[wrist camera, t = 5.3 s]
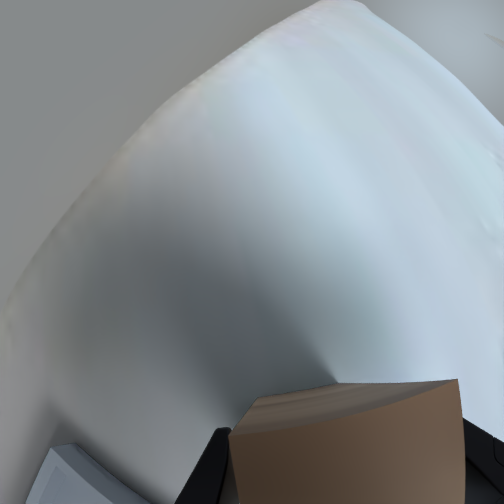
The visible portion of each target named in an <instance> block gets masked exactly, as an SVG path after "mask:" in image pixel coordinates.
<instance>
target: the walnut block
mask: <svg viewBox="0 0 504 504" xmlns="http://www.w3.org/2000/svg"><path fill="white" fill-rule="evenodd" d="M228 438H229V444H230V450H231V457H232V463H233V468H234V474H235V480H236V486H237V491H238V497H239V502H240V504H464V503H465V444H464V429H463V417H462V408H461V399H460V391H459V384H458V379H452V380H441V381H427V382H409V383H336V384H332V385H327V386H323V387H318V388H313V389H307V390H302V391H297V392H291V393H285V394H279V395H272V396H265V397H258V398H257V399H256V400H255V402H254V403H253V404H252V406H251V407H250V408H249V410H248V411H247V412H246V414H245V415H244V416H243V418H242V419H241V420H240V421H239V423H238V424H237V425H236V426H235V428H234V429H233V430H232V432H231V433H230V434H229V435H228Z"/></svg>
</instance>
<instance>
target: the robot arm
mask: <svg viewBox="0 0 504 504" xmlns="http://www.w3.org/2000/svg"><path fill="white" fill-rule="evenodd" d="M463 429H464V444H465V503H464V504H504V442H502V441H500V440H499V439H497V438H495V437H494V438H493V436H492V435H490V434H489V433H487V432H485V431H484V430H482V429H481V428H479V427H477V426H476V425H474V424H472V423H471V422H469V421H468V420H466V419H464V418H463ZM231 432H232V431H231V429H230V428H229V427H223V428H217V429H216V430H215V431H214V433H213V435H212V437H211V439H210V441H209V443H208V444H207V446H206V448H205V450H204V452H203V454H202V455H201V457H200V459H199V461H198V463H197V465H196V466H195V468H194V470H193V472H192V473H191V475H190V477H189V479H188V481H187V482H186V484H185V486H184V488H183V489H182V491H181V493H180V494H179V496H178V498H177V500H176V501H175V503H174V504H239V497H238V491H237V486H236V480H235V474H234V468H233V463H232V457H231V450H230V444H229V438H228V435H229V434H230V433H231Z"/></svg>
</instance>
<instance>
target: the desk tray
mask: <svg viewBox="0 0 504 504" xmlns="http://www.w3.org/2000/svg"><path fill="white" fill-rule="evenodd" d="M25 504H151V503H150V502H148V501H147V500H145V499H144V498H142V497H141V496H139V495H138V494H137V493H135V492H134V491H132V490H131V489H130V488H128V487H127V486H126V485H124V484H123V483H122V482H120V481H119V480H118V479H117V478H115V477H114V476H113V475H112V474H110V473H109V472H108V471H107V470H105V469H104V468H103V467H102V466H101V465H99V464H98V463H97V462H96V461H95V460H94V459H92V458H91V457H90V456H89V455H88V454H87V453H86V452H85V451H84V450H82V449H81V448H80V447H79V446H78V445H77V444H76V443H70V444H65V445H60V446H54V447H50V450H49V452H48V454H47V456H46V458H45V460H44V462H43V464H42V466H41V468H40V471H39V473H38V475H37V477H36V479H35V482H34V484H33V486H32V489H31V491H30V493H29V496H28V498H27V500H26V503H25Z"/></svg>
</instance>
